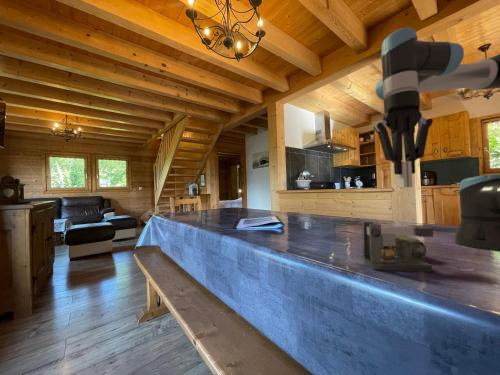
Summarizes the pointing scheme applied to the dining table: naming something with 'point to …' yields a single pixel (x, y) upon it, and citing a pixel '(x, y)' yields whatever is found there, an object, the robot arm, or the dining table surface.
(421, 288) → the dining table surface
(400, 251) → the stone
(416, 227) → the lever
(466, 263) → the dining table surface
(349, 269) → the dining table surface
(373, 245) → the cracker base
